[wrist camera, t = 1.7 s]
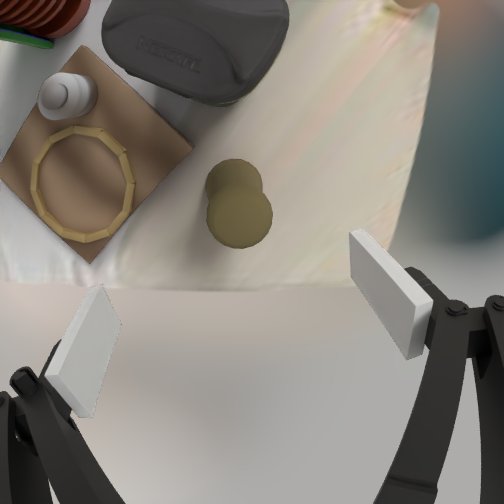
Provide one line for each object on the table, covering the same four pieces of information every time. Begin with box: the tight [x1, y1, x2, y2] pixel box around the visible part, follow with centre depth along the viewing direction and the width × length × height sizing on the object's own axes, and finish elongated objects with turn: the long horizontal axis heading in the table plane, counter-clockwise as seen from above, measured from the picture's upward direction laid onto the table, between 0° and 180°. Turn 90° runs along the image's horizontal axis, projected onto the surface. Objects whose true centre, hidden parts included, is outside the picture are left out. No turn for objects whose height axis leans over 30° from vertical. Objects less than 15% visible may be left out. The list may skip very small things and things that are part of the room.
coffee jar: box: [101, 0, 289, 107], centre depth 19 cm, size 10×8×19 cm
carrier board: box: [0, 45, 194, 264], centre depth 26 cm, size 18×17×8 cm
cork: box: [206, 159, 273, 249], centre depth 28 cm, size 6×6×11 cm
